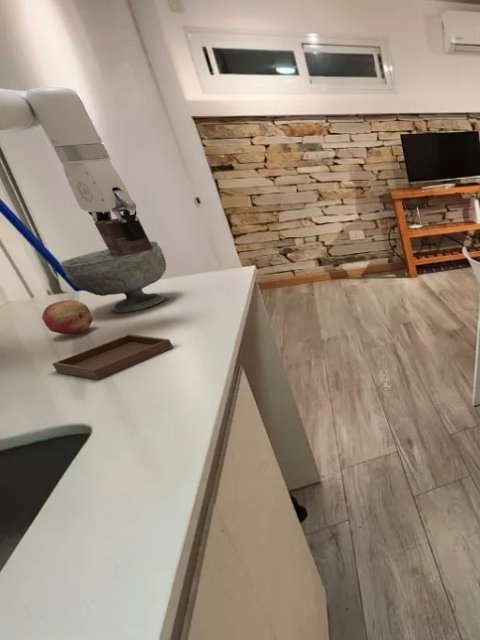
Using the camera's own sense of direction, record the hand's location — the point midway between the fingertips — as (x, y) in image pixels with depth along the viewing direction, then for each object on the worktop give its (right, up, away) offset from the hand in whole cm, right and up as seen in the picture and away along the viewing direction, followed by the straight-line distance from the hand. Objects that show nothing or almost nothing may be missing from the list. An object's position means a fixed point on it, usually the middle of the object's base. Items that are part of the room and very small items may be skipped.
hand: (125, 238), depth 106 cm
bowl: (-18, -14, +21) cm, 31 cm away
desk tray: (+7, -27, -9) cm, 29 cm away
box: (0, -3, +2) cm, 3 cm away
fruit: (-17, -21, +6) cm, 28 cm away
